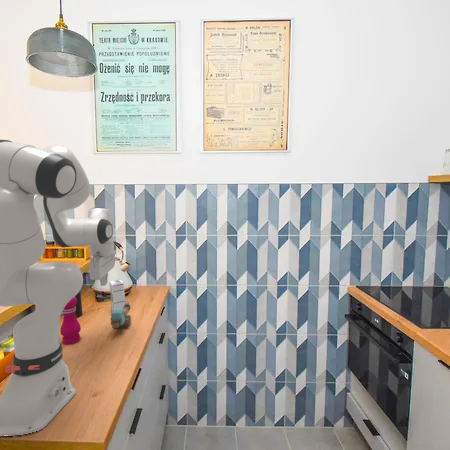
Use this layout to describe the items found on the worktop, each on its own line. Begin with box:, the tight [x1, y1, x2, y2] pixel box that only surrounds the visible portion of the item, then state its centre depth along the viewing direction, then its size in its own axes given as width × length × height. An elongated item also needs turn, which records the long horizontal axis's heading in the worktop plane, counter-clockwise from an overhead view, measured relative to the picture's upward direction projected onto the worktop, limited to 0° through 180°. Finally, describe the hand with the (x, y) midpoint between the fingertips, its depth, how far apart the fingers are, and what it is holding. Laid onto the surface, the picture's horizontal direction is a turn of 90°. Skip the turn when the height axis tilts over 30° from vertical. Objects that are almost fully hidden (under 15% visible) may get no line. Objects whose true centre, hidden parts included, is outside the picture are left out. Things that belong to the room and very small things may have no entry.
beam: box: [111, 300, 132, 330], centre depth 136 cm, size 20×6×8 cm, turn 3°
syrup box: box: [108, 279, 126, 312], centre depth 154 cm, size 6×6×14 cm
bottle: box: [75, 288, 83, 319], centre depth 148 cm, size 7×7×20 cm
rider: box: [110, 309, 125, 326], centre depth 130 cm, size 4×5×5 cm
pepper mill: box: [59, 297, 82, 345], centre depth 124 cm, size 7×7×20 cm
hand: (104, 284), depth 123 cm, fingers closed
